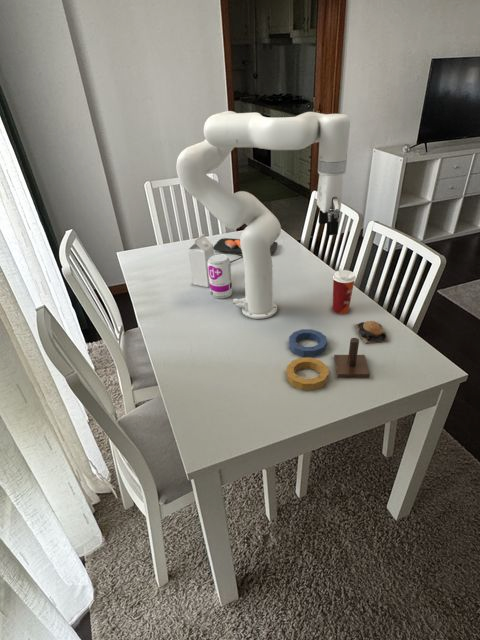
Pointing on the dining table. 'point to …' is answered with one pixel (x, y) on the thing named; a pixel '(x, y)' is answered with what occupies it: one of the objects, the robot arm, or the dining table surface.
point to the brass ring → (307, 383)
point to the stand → (351, 363)
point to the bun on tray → (371, 332)
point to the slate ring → (307, 351)
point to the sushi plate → (235, 246)
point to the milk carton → (200, 260)
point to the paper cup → (342, 290)
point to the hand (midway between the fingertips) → (327, 228)
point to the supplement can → (220, 276)
